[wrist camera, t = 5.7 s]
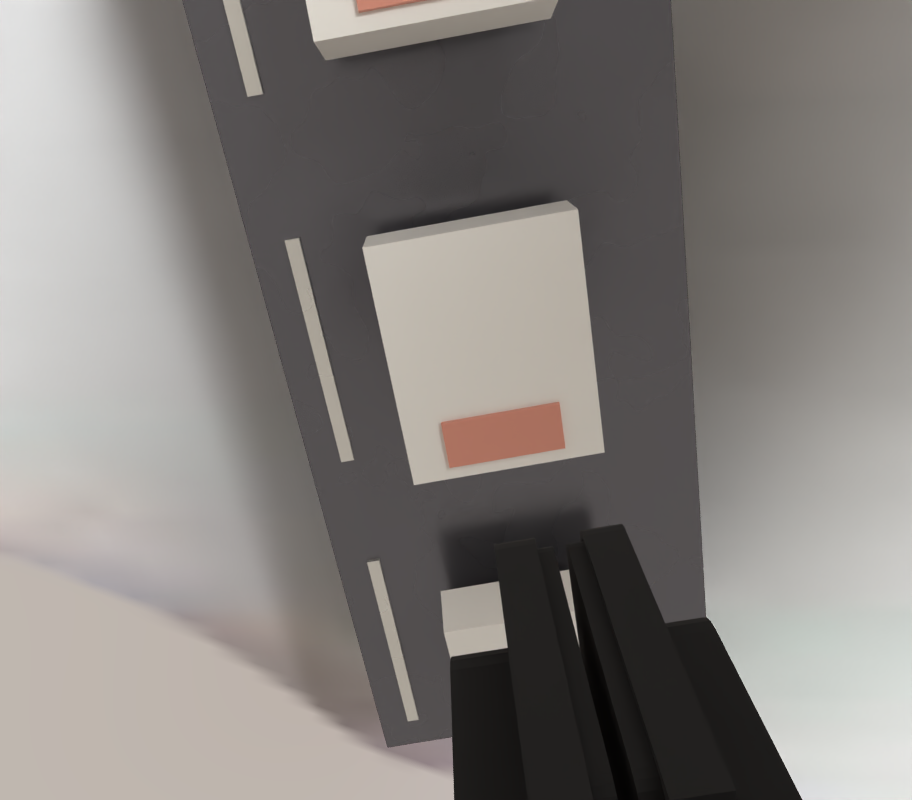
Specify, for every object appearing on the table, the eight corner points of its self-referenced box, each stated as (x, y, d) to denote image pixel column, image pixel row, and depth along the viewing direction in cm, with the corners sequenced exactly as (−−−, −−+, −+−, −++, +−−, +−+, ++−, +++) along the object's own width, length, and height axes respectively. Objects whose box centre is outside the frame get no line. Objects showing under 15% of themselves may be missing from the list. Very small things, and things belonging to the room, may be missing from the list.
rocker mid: (366, 236, 15) (361, 249, 14) (566, 200, 15) (579, 210, 14) (414, 459, 17) (413, 487, 16) (592, 428, 17) (605, 454, 16)
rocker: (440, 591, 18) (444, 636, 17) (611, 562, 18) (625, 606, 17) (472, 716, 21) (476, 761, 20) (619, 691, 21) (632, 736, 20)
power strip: (73, -605, 14) (-90, -924, 10) (562, -708, 14) (630, -1087, 9) (392, 649, 25) (386, 772, 21) (667, 603, 25) (721, 718, 20)
